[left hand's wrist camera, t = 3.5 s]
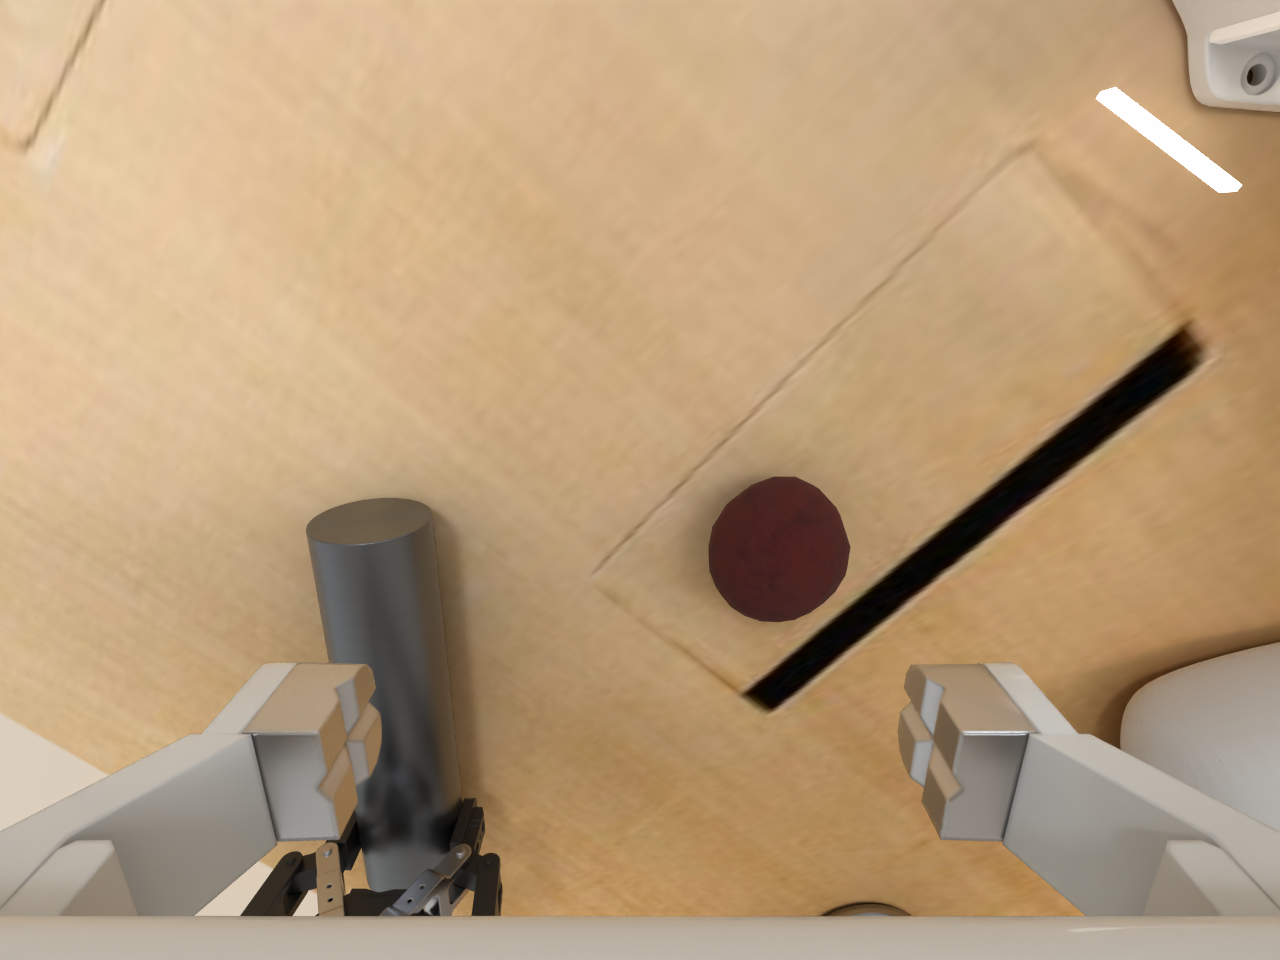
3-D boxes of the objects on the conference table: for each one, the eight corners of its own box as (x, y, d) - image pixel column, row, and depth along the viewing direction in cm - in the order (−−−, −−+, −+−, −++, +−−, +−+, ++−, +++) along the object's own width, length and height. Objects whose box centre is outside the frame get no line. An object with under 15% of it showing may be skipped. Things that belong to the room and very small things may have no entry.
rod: (336, 497, 39) (282, 544, 33) (445, 498, 39) (410, 545, 33) (387, 821, 47) (350, 903, 41) (477, 822, 47) (453, 905, 41)
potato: (688, 567, 41) (697, 632, 34) (725, 445, 38) (743, 491, 32) (806, 593, 41) (838, 662, 35) (850, 475, 39) (893, 526, 32)
